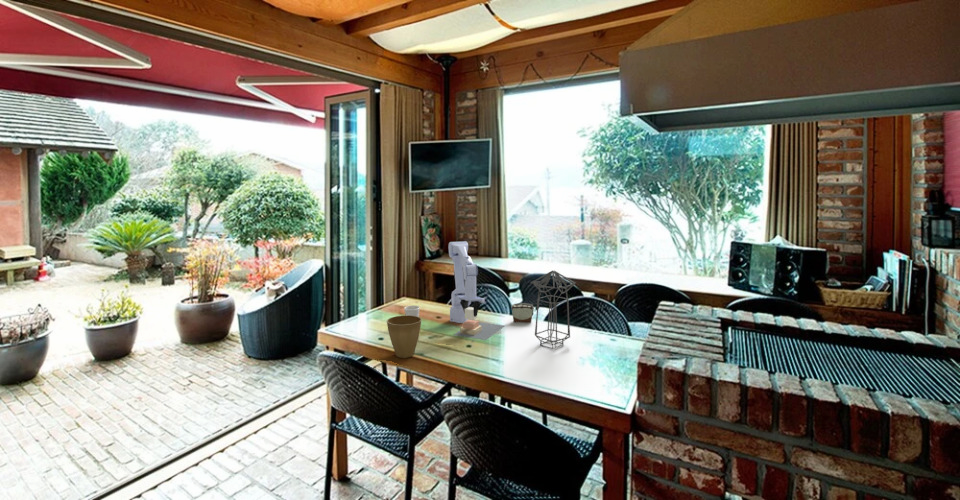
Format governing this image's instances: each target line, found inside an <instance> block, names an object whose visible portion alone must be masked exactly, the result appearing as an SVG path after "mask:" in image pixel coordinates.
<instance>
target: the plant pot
mask: <svg viewBox="0 0 960 500" xmlns="http://www.w3.org/2000/svg"><path fill="white" fill-rule="evenodd" d="M421 325H422V318H421V317H420V316H419V317H417V316H411V315H396V316H392V317H390V318H388V319H386V327H387V331H388V334H389V339H390V341H391V346H392V348H393V351H394V353H395V355H396V357H397V358H401V359H408V358H411V357H413V356H414V355H415V351H416V349H417V347H418V346H417V345H418V341H419V338H420V332H421Z"/></svg>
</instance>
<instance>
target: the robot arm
mask: <svg viewBox="0 0 960 500" xmlns="http://www.w3.org/2000/svg"><path fill="white" fill-rule="evenodd" d="M447 247H448V256H449V258H450V259H452V262H453V270H454V271H453V272H454V281H455V282H454V283H455V289H454V290H453V291H451V301H450V302H451V307H450V309H449V322H451V323H453V322H454V323H458V324H463V323H464V322H465V321H467V320H469V319H465V309H466V308H468V307H470V305H471V304H472V306H473V308H474V316H477V317H478V311H479V309H480V306H481V304H484V303H485V302H486V301H485V300H486V299H485V298H483V297H479V296H477V276H478V274H479V271H478V270H479V269H478V264H476V263H474V262H473V260H472V257H471V256H469V255H468V250H469V243H468V241H466V240H465V241H450V242H449V243H448V246H447Z"/></svg>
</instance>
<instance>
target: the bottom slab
mask: <svg viewBox="0 0 960 500" xmlns="http://www.w3.org/2000/svg"><path fill="white" fill-rule="evenodd" d="M459 331H460V333H464V334H471V335H476V334H477V333H479V332H480V331H482V326H481V325H479V326H478V327H477V328H475V329H468V328H463V326H461V327H460V328H459Z"/></svg>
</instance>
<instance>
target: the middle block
mask: <svg viewBox="0 0 960 500" xmlns="http://www.w3.org/2000/svg"><path fill="white" fill-rule="evenodd" d="M479 322H480V321H479V320H475V319H474V320H469V319H468V320H467V321H465V322H464V323H462V327H463V328H468V329H475V328H477V327H478V326H479Z"/></svg>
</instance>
